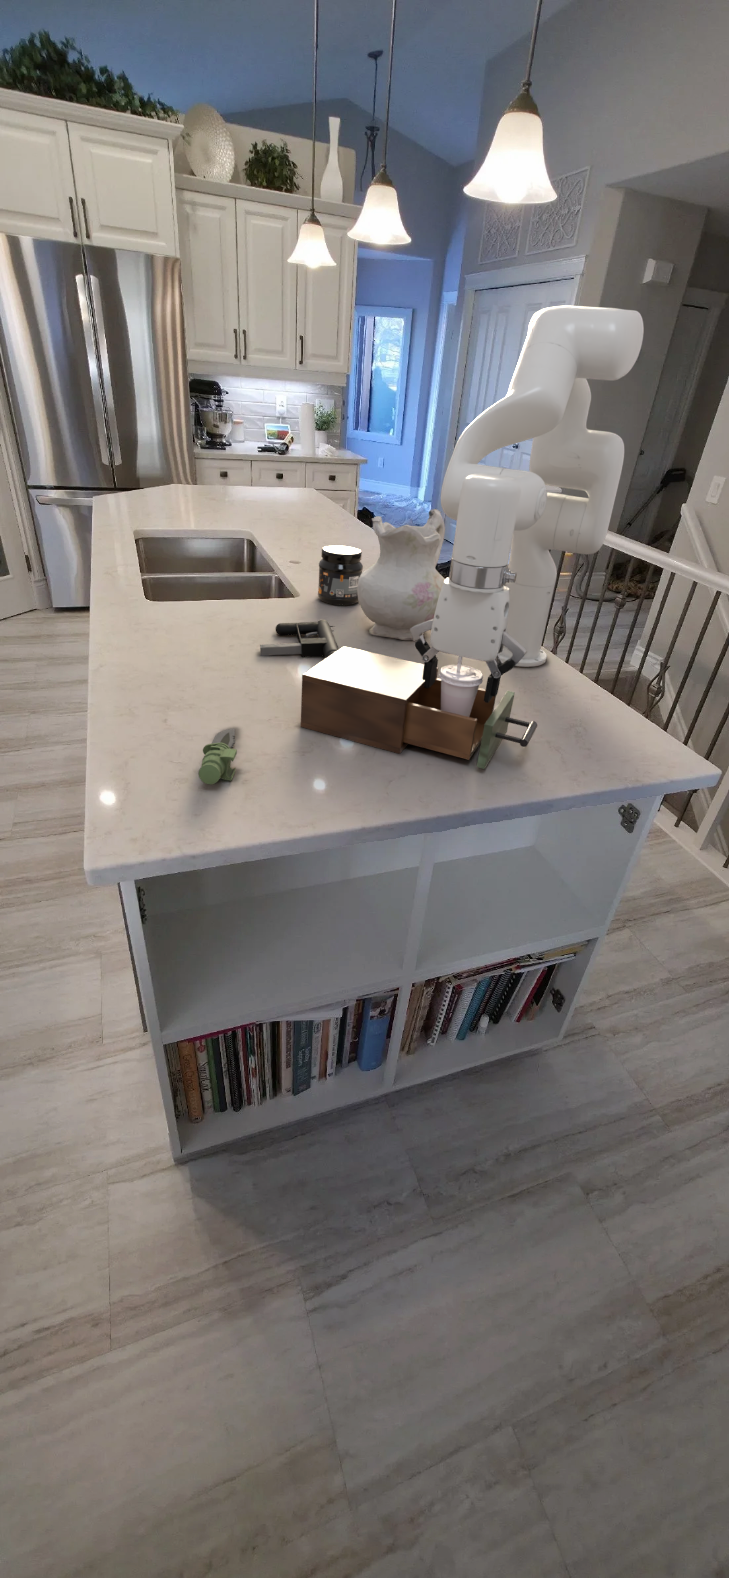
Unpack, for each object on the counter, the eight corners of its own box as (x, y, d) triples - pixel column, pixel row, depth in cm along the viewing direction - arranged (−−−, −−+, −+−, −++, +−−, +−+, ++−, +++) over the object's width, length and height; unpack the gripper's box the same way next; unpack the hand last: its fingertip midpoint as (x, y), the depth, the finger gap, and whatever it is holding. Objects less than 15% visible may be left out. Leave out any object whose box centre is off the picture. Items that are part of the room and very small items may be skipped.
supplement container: (323, 591, 171) (325, 542, 164) (364, 597, 169) (367, 547, 163) (312, 603, 162) (314, 551, 156) (355, 609, 161) (359, 557, 154)
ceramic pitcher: (384, 615, 162) (386, 503, 149) (462, 625, 154) (471, 508, 142) (342, 640, 145) (340, 516, 133) (426, 653, 138) (433, 523, 125)
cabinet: (431, 717, 113) (438, 667, 108) (399, 754, 101) (406, 700, 96) (340, 694, 118) (343, 646, 113) (300, 726, 106) (301, 674, 102)
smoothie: (428, 721, 106) (440, 635, 99) (468, 722, 107) (483, 637, 100) (435, 740, 101) (448, 650, 94) (477, 741, 102) (493, 652, 94)
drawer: (536, 739, 106) (545, 699, 103) (517, 778, 96) (527, 734, 92) (415, 709, 113) (420, 670, 109) (384, 742, 102) (388, 700, 98)
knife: (190, 758, 86) (229, 763, 86) (217, 714, 103) (250, 719, 103) (188, 786, 87) (227, 791, 88) (215, 738, 104) (248, 742, 105)
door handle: (261, 654, 124) (347, 650, 127) (257, 620, 141) (333, 617, 144) (262, 671, 126) (347, 667, 129) (258, 635, 143) (333, 632, 145)
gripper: (546, 580, 92) (521, 696, 101) (426, 558, 97) (412, 671, 106) (535, 592, 86) (509, 715, 95) (407, 569, 91) (395, 687, 100)
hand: (458, 692), depth 101 cm, fingers open, 8 cm apart
